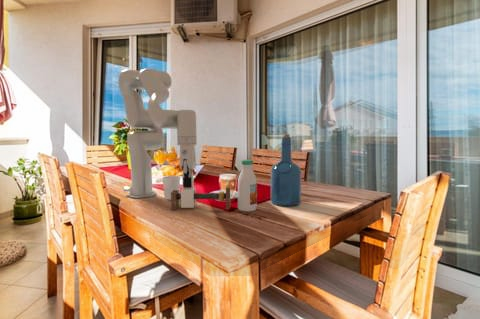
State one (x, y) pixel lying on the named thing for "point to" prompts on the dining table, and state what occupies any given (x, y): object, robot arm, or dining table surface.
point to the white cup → (170, 185)
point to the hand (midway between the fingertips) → (188, 186)
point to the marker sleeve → (188, 195)
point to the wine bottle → (286, 178)
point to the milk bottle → (247, 187)
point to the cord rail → (201, 197)
